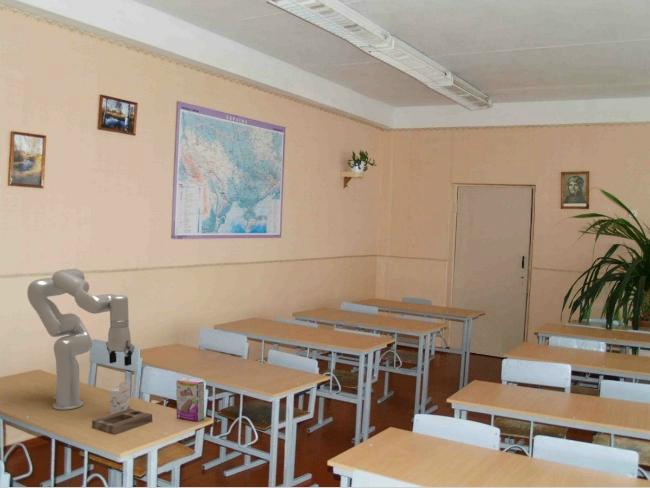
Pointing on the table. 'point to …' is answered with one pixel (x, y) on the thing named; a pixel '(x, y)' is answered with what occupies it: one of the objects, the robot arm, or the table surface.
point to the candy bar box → (190, 399)
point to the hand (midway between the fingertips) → (120, 363)
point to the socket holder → (121, 421)
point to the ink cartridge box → (120, 398)
